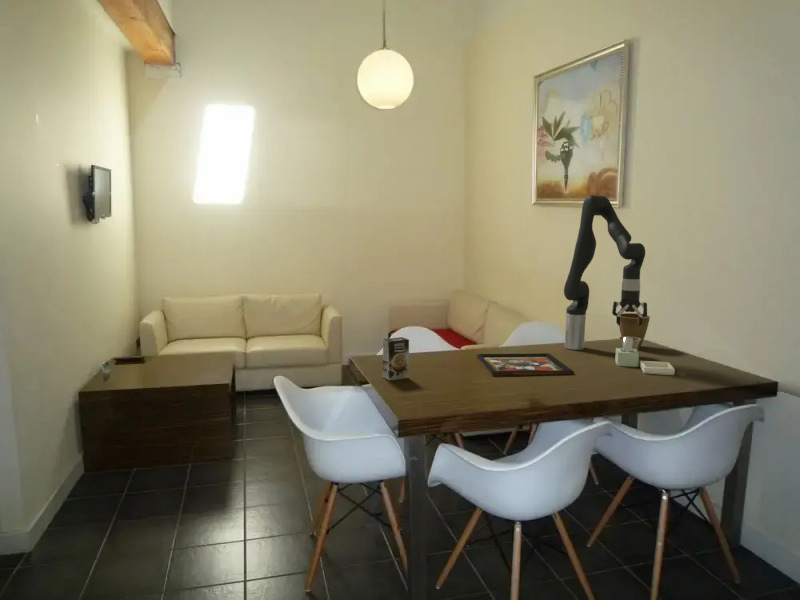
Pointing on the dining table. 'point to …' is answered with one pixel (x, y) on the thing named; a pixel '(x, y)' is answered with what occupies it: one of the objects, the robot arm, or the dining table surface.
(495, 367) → the framed painting
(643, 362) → the tray
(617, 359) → the block
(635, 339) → the flower pot
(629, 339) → the pin
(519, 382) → the dining table surface
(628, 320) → the plant pot
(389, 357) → the food box
